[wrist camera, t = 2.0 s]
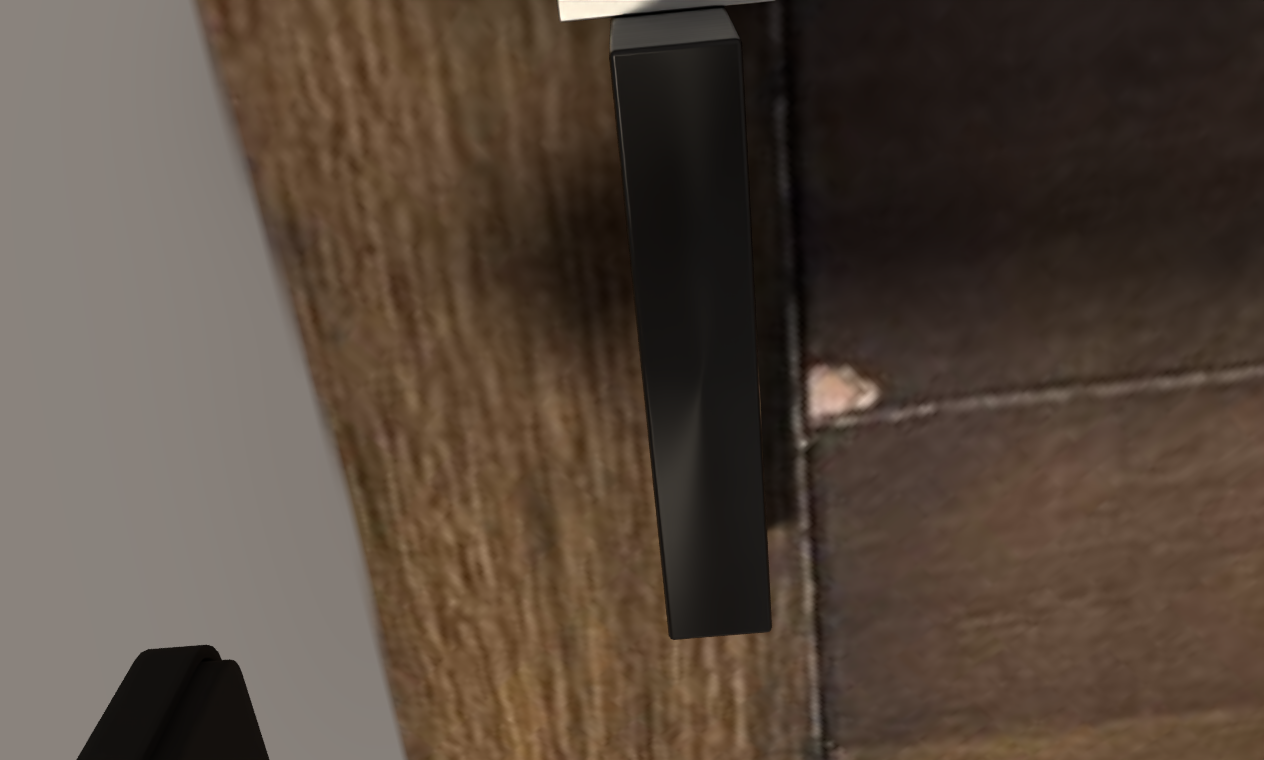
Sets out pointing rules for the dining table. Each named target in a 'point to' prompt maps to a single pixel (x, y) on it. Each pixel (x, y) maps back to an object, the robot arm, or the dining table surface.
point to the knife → (693, 300)
